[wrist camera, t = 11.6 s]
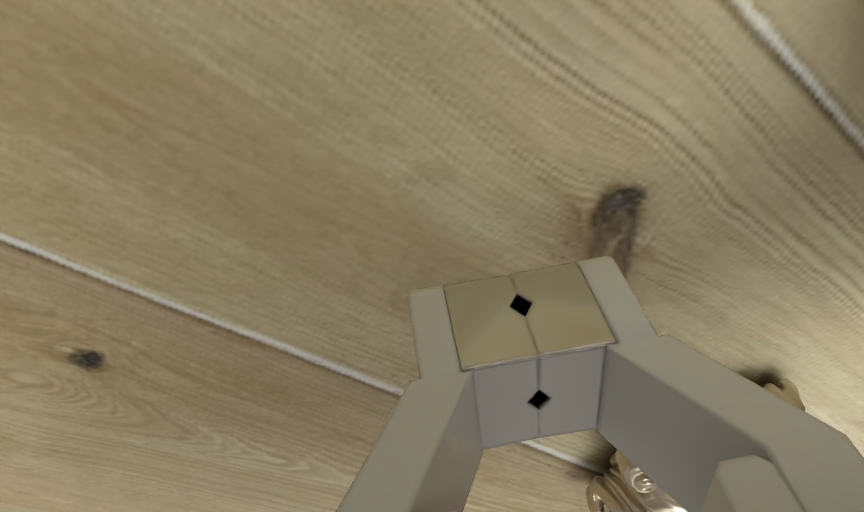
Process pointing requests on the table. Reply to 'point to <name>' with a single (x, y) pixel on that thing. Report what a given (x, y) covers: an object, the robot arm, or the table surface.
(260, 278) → the table surface
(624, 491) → the ornament
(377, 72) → the table surface
